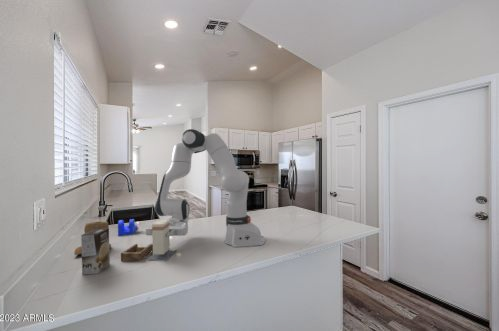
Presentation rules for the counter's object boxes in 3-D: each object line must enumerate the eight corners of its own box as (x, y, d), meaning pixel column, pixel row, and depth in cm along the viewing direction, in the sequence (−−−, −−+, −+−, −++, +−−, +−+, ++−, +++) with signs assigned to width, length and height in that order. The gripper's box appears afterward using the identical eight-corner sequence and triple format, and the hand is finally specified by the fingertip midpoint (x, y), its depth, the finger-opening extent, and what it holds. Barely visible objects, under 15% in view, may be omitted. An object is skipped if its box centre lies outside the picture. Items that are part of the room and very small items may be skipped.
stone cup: (110, 244, 126) (109, 217, 126) (111, 250, 116) (110, 221, 116) (76, 250, 118) (75, 221, 118) (74, 258, 108) (73, 227, 108)
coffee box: (98, 274, 92) (97, 234, 91) (81, 275, 91) (80, 235, 91) (110, 263, 101) (109, 227, 101) (95, 264, 100) (94, 228, 100)
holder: (153, 250, 115) (152, 243, 115) (140, 261, 103) (139, 253, 103) (135, 250, 116) (135, 243, 116) (121, 260, 104) (120, 253, 104)
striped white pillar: (169, 248, 112) (169, 220, 112) (163, 254, 105) (162, 224, 105) (159, 248, 112) (159, 220, 112) (152, 254, 105) (151, 224, 105)
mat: (175, 251, 114) (175, 250, 114) (166, 260, 103) (166, 259, 103) (158, 251, 114) (158, 250, 114) (147, 260, 103) (147, 259, 103)
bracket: (132, 234, 143) (132, 220, 143) (118, 236, 141) (117, 221, 141) (137, 227, 160) (137, 214, 160) (124, 228, 158) (124, 215, 158)
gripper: (153, 221, 122) (138, 228, 108) (190, 221, 121) (180, 228, 107) (153, 232, 122) (139, 241, 108) (190, 232, 121) (181, 242, 107)
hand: (160, 235), depth 108 cm, fingers closed on striped white pillar, 5 cm apart
